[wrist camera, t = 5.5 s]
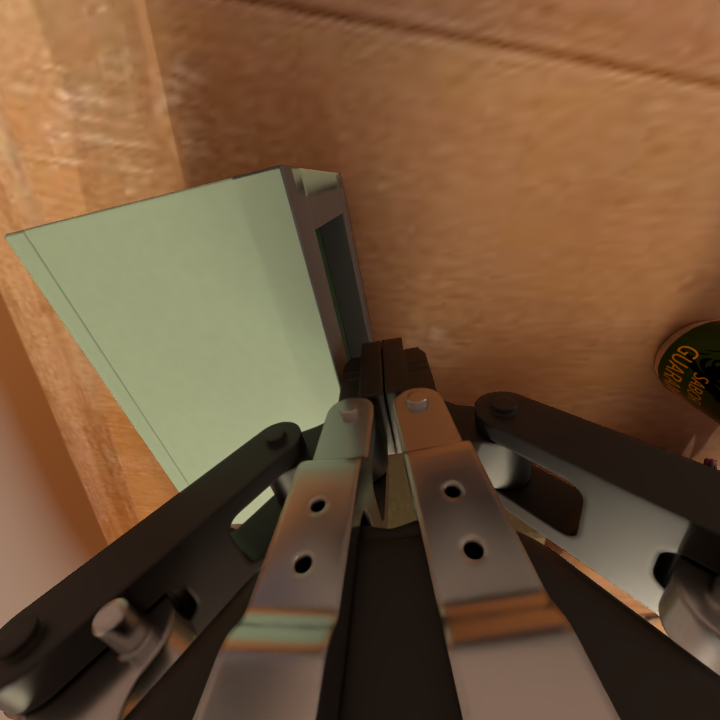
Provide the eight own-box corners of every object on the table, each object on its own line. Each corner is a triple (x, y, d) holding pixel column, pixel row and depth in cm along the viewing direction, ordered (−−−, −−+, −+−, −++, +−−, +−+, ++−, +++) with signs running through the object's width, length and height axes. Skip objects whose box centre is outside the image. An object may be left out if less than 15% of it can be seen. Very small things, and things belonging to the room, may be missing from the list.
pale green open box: (188, 209, 18) (0, 235, 10) (340, 172, 17) (280, 164, 8) (269, 404, 25) (200, 525, 16) (383, 392, 23) (376, 519, 14)
